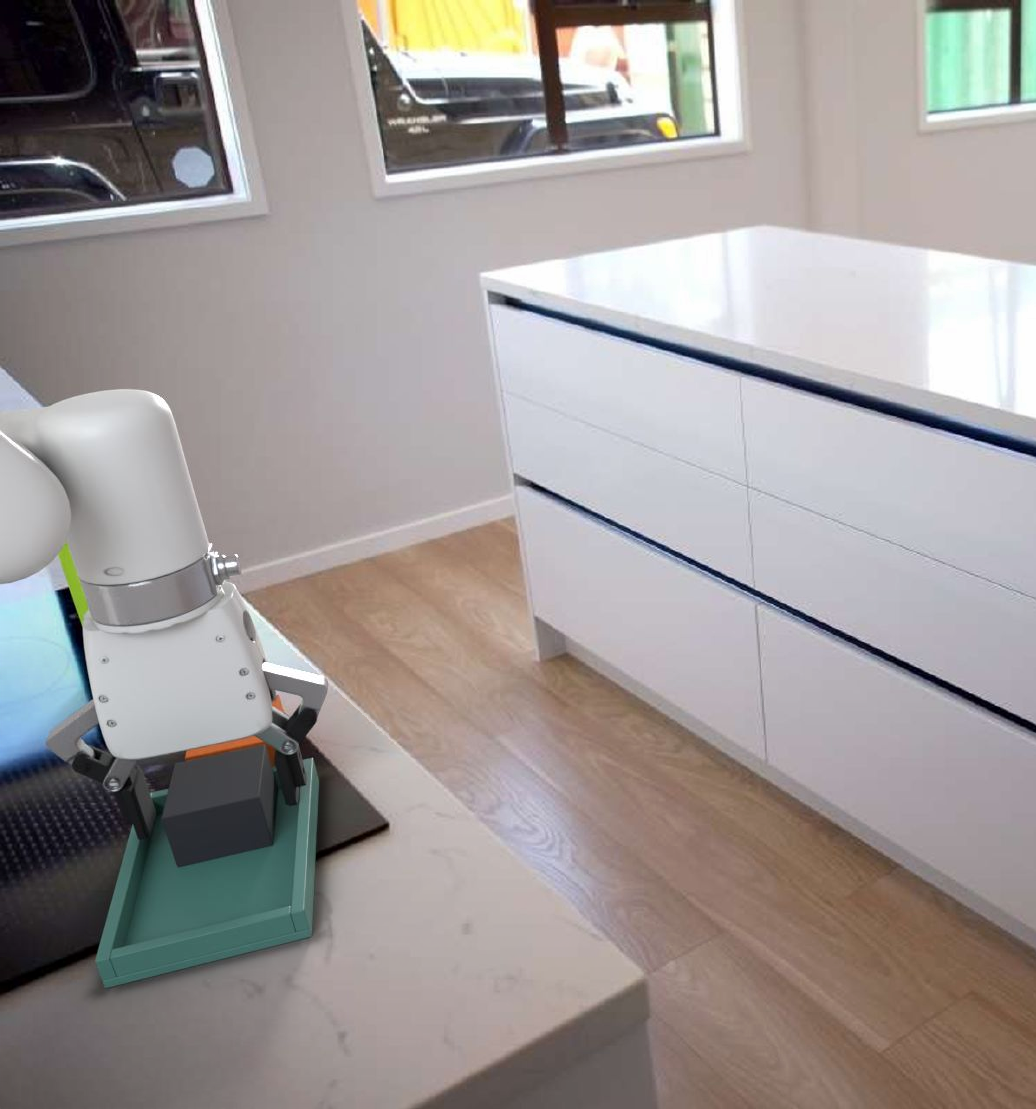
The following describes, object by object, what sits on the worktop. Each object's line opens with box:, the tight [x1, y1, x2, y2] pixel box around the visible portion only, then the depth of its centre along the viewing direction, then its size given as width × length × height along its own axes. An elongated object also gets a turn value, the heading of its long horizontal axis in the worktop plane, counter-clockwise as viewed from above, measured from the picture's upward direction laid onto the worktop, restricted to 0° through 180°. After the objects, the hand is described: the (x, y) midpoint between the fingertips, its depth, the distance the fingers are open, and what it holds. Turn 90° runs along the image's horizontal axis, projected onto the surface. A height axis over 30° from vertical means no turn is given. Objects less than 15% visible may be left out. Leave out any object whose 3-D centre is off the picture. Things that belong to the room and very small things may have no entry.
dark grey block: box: [161, 745, 278, 867], centre depth 87 cm, size 6×7×4 cm
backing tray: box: [94, 757, 320, 989], centre depth 84 cm, size 12×18×2 cm, turn 19°
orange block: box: [184, 694, 285, 766], centre depth 95 cm, size 6×7×4 cm
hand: (221, 810), depth 87 cm, fingers open, 9 cm apart
